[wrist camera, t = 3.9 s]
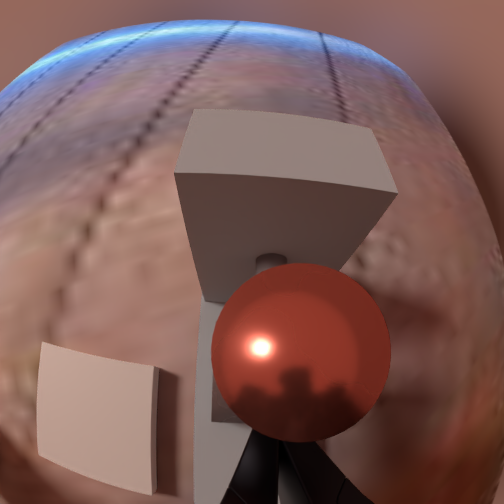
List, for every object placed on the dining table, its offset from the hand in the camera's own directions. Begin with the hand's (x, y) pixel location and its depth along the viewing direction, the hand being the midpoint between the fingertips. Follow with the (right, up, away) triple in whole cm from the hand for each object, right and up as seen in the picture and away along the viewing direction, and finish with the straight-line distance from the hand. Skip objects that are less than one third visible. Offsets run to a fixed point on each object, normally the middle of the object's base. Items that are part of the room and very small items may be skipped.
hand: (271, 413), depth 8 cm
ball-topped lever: (0, -1, +6) cm, 6 cm away
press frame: (-6, -2, +6) cm, 8 cm away
